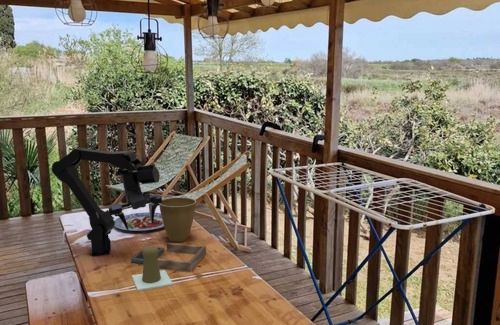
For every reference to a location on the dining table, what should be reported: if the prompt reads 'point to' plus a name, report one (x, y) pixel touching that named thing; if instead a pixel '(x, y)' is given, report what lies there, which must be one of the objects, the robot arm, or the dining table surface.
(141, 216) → the ceramic plate
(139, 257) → the tray
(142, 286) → the sage pad
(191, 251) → the frame
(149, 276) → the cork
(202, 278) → the dining table surface
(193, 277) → the dining table surface
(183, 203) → the plant pot
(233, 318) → the dining table surface
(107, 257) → the dining table surface
